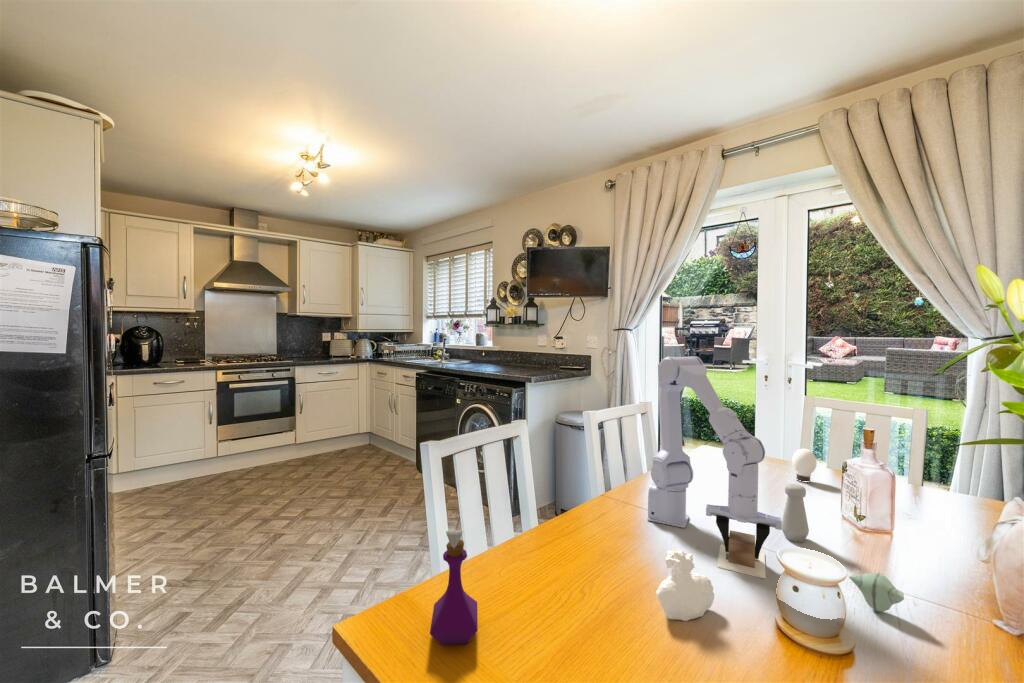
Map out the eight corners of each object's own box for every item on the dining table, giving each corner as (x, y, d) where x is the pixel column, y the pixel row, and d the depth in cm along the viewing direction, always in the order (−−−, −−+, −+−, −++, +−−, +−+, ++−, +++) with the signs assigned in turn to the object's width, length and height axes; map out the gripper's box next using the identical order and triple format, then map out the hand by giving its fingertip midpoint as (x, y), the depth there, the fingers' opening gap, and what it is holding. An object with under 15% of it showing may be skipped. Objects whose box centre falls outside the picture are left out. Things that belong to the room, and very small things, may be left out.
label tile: (717, 567, 93) (717, 566, 93) (720, 544, 103) (720, 543, 103) (765, 578, 89) (765, 577, 89) (764, 554, 98) (764, 553, 98)
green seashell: (846, 602, 81) (847, 567, 81) (855, 595, 83) (856, 560, 83) (902, 627, 75) (903, 588, 74) (909, 618, 77) (911, 581, 77)
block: (728, 562, 95) (728, 539, 95) (729, 551, 99) (729, 530, 99) (754, 568, 92) (755, 545, 92) (754, 557, 97) (755, 535, 97)
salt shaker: (813, 545, 103) (814, 490, 102) (786, 542, 104) (787, 489, 104) (802, 533, 108) (803, 482, 108) (776, 531, 110) (777, 480, 109)
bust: (707, 613, 82) (681, 549, 88) (734, 608, 76) (704, 539, 82) (655, 628, 77) (631, 560, 83) (679, 624, 72) (652, 551, 78)
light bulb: (787, 478, 149) (787, 446, 149) (805, 477, 150) (806, 445, 149) (802, 485, 142) (803, 451, 142) (821, 484, 143) (822, 451, 143)
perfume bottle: (434, 622, 76) (433, 520, 75) (477, 619, 76) (477, 518, 76) (429, 654, 68) (429, 541, 68) (477, 651, 69) (477, 539, 68)
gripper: (705, 492, 95) (704, 553, 96) (782, 505, 88) (781, 571, 89) (708, 482, 102) (707, 539, 102) (780, 494, 95) (779, 555, 95)
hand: (741, 553), depth 96 cm, fingers open, 5 cm apart
